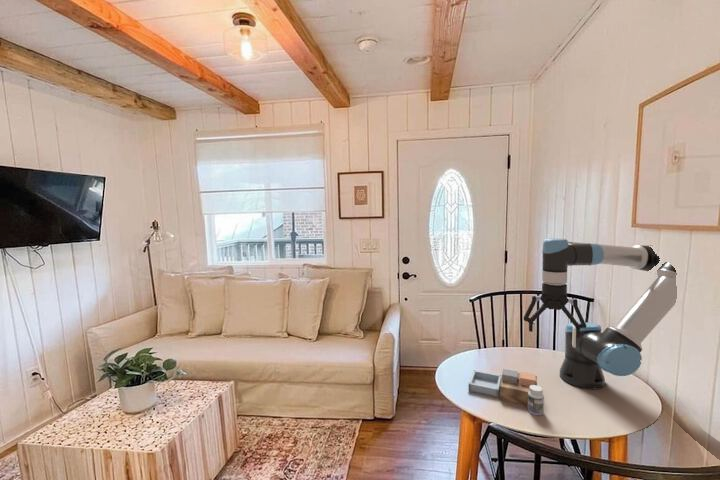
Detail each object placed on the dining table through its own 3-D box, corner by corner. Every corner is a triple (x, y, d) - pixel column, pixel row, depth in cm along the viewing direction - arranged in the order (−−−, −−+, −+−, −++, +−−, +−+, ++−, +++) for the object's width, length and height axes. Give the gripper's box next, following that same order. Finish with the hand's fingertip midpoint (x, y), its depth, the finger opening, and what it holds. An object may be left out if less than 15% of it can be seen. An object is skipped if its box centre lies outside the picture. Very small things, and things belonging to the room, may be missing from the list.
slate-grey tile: (517, 377, 127) (517, 371, 127) (517, 383, 122) (517, 377, 122) (503, 375, 129) (503, 368, 129) (502, 380, 125) (502, 374, 124)
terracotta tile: (535, 381, 124) (535, 374, 124) (535, 387, 120) (535, 380, 119) (520, 378, 126) (520, 371, 126) (520, 384, 122) (520, 377, 122)
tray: (501, 382, 133) (501, 375, 133) (498, 397, 122) (498, 389, 122) (473, 377, 138) (473, 370, 138) (468, 391, 127) (468, 383, 127)
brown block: (536, 388, 128) (536, 375, 128) (536, 407, 116) (537, 393, 115) (502, 381, 134) (502, 369, 133) (499, 399, 121) (499, 386, 121)
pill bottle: (525, 407, 116) (525, 384, 115) (539, 407, 116) (540, 384, 115) (531, 415, 111) (531, 391, 111) (545, 415, 111) (546, 391, 110)
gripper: (594, 283, 114) (592, 344, 116) (517, 278, 125) (516, 334, 127) (597, 287, 107) (595, 353, 109) (515, 282, 119) (515, 341, 120)
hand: (553, 343), depth 118 cm, fingers open, 12 cm apart
